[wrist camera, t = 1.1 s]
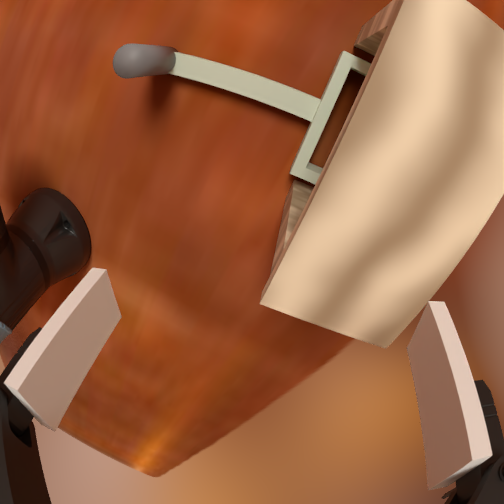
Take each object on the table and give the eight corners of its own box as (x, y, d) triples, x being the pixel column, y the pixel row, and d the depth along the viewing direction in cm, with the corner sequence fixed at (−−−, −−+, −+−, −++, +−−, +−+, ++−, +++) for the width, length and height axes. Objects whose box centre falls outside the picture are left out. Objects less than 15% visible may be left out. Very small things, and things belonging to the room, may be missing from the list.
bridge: (280, 209, 36) (259, 303, 22) (367, 14, 22) (416, -31, 9) (364, 245, 36) (385, 348, 23) (458, 68, 23) (553, 81, 10)
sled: (139, 112, 32) (99, 127, 25) (172, 3, 24) (135, -11, 17) (393, 214, 33) (411, 251, 26) (448, 112, 26) (483, 127, 19)
